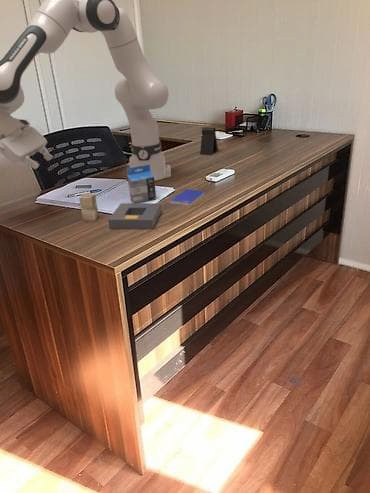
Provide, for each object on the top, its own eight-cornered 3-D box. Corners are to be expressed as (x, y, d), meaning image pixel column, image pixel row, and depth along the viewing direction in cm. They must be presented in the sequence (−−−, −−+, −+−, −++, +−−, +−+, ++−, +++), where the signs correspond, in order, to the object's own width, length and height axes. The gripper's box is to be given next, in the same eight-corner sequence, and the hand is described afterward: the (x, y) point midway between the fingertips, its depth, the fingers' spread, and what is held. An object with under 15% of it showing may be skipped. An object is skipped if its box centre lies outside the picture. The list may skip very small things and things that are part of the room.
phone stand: (211, 155, 206) (210, 130, 201) (200, 154, 209) (199, 129, 203) (218, 150, 213) (217, 126, 208) (207, 149, 216) (206, 125, 210)
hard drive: (189, 202, 149) (204, 191, 158) (169, 200, 152) (184, 188, 162) (190, 207, 149) (204, 195, 159) (169, 204, 153) (185, 192, 163)
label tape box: (133, 204, 153) (129, 170, 148) (130, 200, 157) (126, 168, 151) (156, 199, 156) (153, 166, 151) (152, 196, 160) (149, 163, 154)
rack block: (121, 211, 148) (120, 203, 146) (161, 211, 145) (160, 203, 144) (109, 228, 135) (108, 219, 134) (152, 228, 133) (151, 219, 132)
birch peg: (87, 215, 146) (83, 193, 142) (98, 216, 145) (95, 193, 142) (83, 220, 142) (79, 197, 139) (94, 220, 142) (90, 197, 138)
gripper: (-5, 132, 124) (34, 165, 127) (29, 119, 142) (62, 148, 145) (-15, 147, 126) (23, 179, 129) (19, 132, 144) (52, 161, 147)
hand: (44, 162), depth 137 cm, fingers open, 8 cm apart
